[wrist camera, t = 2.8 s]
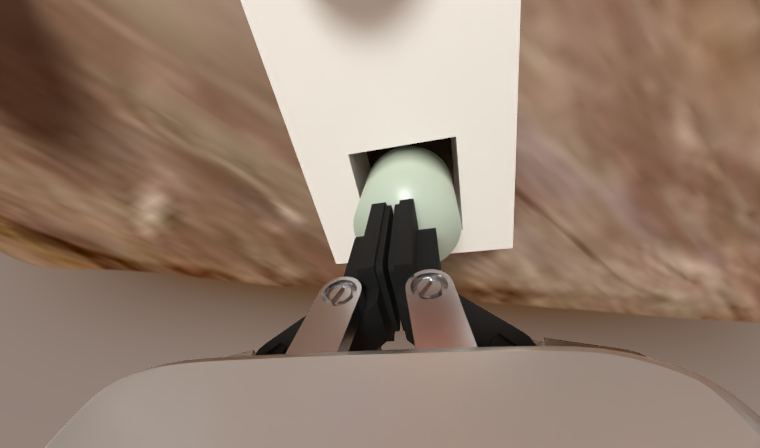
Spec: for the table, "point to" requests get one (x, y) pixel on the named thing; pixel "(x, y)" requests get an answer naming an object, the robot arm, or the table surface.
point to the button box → (397, 99)
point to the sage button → (414, 193)
